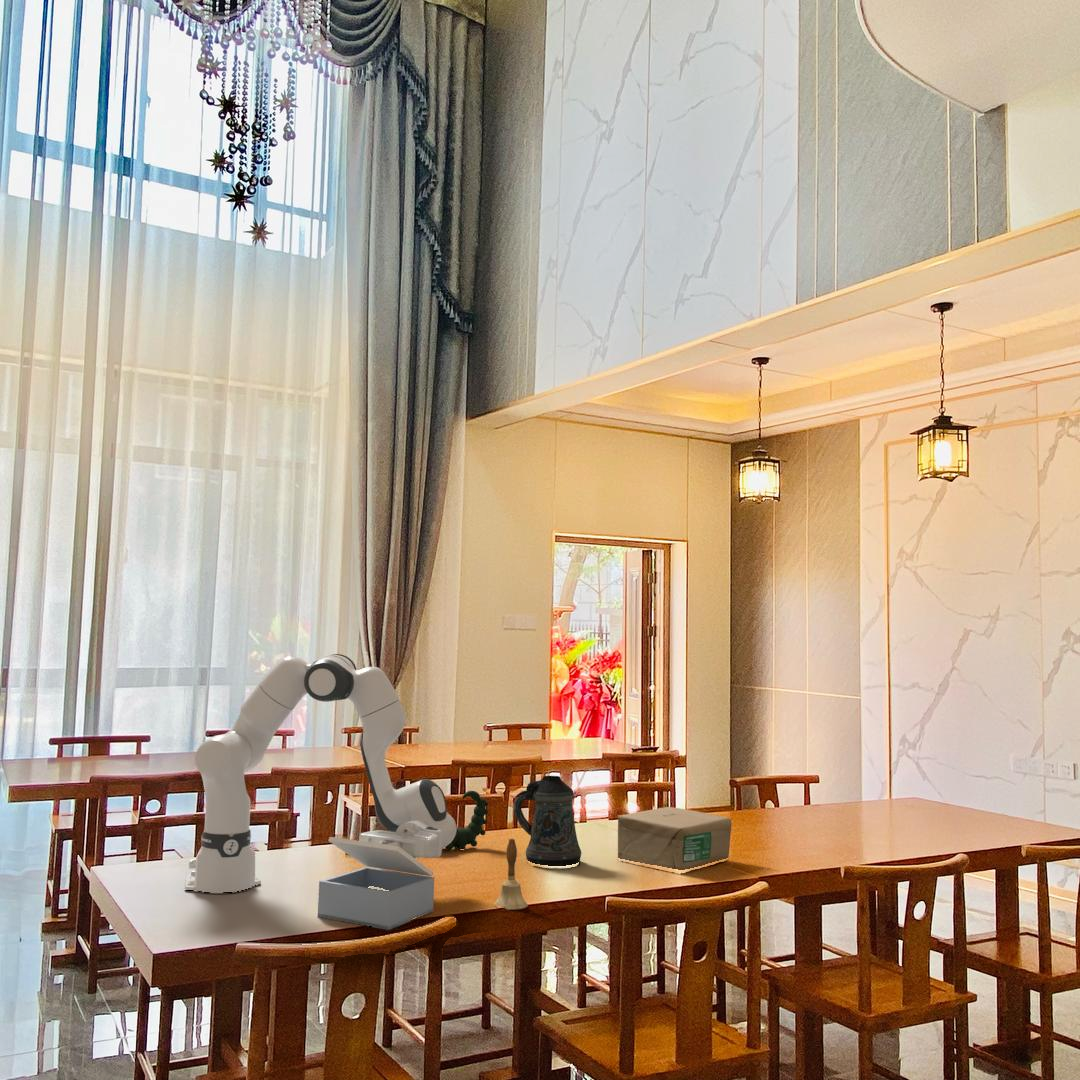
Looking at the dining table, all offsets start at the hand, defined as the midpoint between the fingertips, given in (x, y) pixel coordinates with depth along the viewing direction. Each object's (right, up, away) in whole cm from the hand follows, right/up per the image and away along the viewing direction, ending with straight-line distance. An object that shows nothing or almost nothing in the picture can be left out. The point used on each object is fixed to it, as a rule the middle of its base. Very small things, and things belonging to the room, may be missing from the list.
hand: (379, 849), depth 238 cm
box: (-1, -15, -2) cm, 15 cm away
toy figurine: (+9, -23, +73) cm, 77 cm away
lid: (0, -2, 0) cm, 2 cm away
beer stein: (+40, -22, +58) cm, 74 cm away
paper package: (+78, -24, +66) cm, 105 cm away
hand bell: (+31, -17, +10) cm, 36 cm away
